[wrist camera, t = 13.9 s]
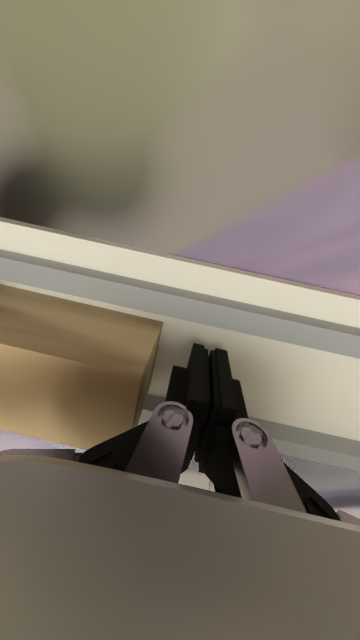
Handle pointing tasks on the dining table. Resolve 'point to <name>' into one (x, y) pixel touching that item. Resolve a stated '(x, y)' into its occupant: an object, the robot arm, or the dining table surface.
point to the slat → (72, 368)
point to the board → (217, 329)
